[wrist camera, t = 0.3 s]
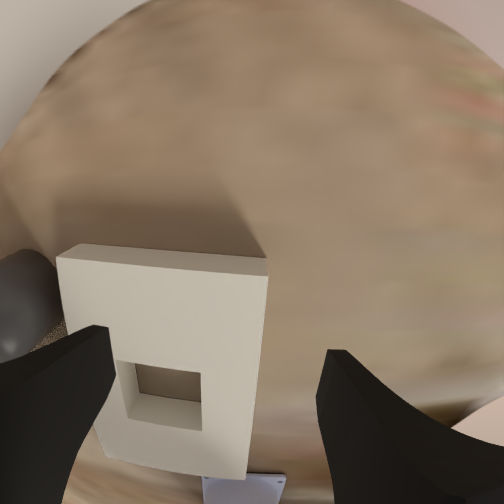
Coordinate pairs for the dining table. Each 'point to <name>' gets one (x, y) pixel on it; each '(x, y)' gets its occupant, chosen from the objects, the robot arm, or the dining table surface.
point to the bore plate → (173, 350)
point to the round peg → (27, 302)
